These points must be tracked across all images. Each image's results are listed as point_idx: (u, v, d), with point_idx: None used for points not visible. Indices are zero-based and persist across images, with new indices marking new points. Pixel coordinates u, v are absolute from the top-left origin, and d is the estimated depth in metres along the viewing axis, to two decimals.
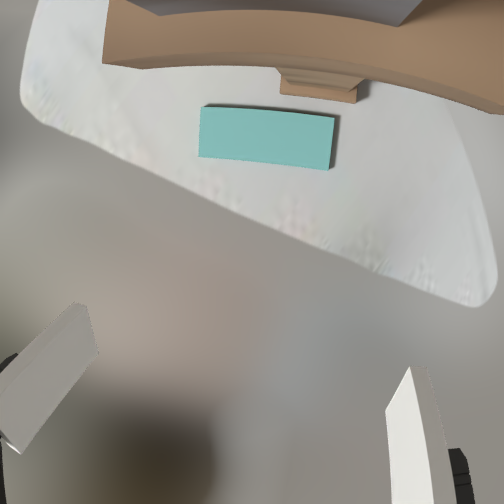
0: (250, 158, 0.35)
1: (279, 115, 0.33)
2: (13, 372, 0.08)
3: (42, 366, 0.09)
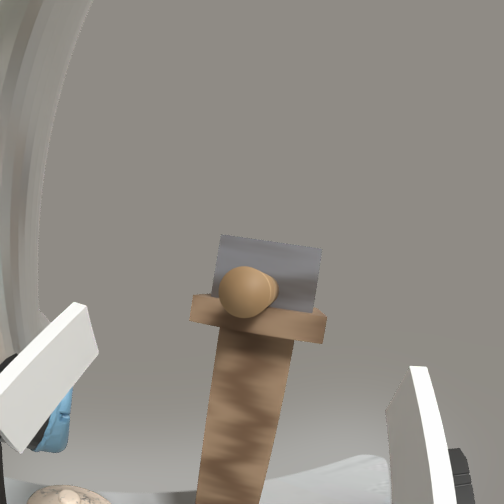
0: None
1: None
2: (13, 372, 0.08)
3: (43, 366, 0.09)
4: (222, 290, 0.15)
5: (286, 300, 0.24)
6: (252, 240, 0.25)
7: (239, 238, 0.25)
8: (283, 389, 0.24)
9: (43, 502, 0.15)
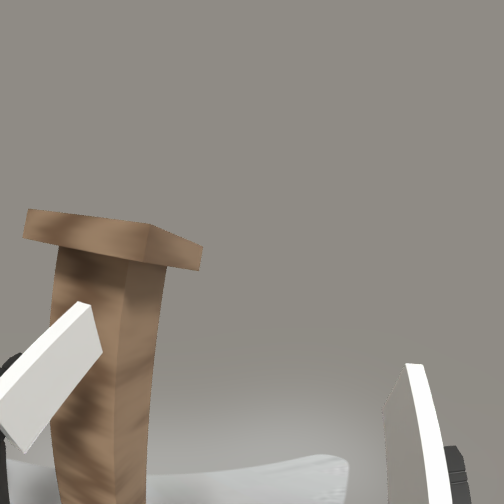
0: None
1: None
2: (17, 371, 0.08)
3: (47, 365, 0.09)
4: None
5: None
6: None
7: None
8: (117, 333, 0.18)
9: None
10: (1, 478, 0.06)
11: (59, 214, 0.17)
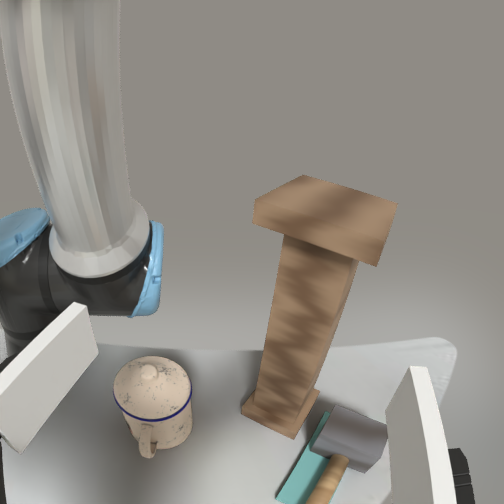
0: None
1: (312, 444, 0.35)
2: (13, 372, 0.08)
3: (42, 366, 0.09)
4: None
5: (351, 465, 0.31)
6: (339, 442, 0.31)
7: (331, 439, 0.31)
8: (340, 294, 0.26)
9: (128, 376, 0.31)
10: None
11: (295, 213, 0.23)
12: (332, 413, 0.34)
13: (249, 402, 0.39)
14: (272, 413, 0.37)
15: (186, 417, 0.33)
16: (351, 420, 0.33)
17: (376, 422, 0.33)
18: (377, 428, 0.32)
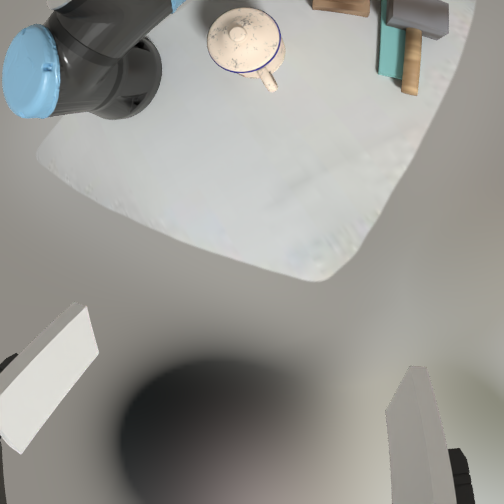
0: None
1: (385, 18, 0.33)
2: (13, 372, 0.08)
3: (43, 366, 0.09)
4: (402, 91, 0.36)
5: (424, 35, 0.32)
6: (411, 21, 0.29)
7: (403, 19, 0.29)
8: None
9: (221, 46, 0.32)
10: None
11: None
12: None
13: None
14: (341, 2, 0.32)
15: (281, 41, 0.34)
16: None
17: None
18: (437, 5, 0.26)
